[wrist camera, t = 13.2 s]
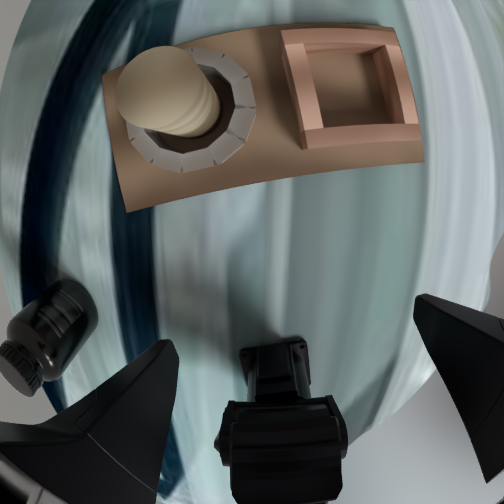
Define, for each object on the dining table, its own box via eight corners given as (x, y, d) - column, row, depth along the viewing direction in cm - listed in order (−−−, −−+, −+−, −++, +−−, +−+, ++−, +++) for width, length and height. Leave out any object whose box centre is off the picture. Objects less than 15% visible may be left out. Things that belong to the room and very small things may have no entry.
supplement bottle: (44, 282, 23) (-24, 339, 12) (83, 272, 23) (5, 341, 12) (69, 333, 26) (16, 399, 14) (110, 330, 25) (56, 411, 14)
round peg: (227, 131, 17) (207, 112, 10) (173, 145, 18) (122, 139, 10) (217, 80, 16) (191, 35, 9) (164, 95, 16) (111, 65, 9)
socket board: (417, 161, 19) (442, 164, 15) (133, 209, 21) (111, 220, 17) (387, 32, 15) (406, 17, 11) (108, 78, 17) (85, 68, 13)
